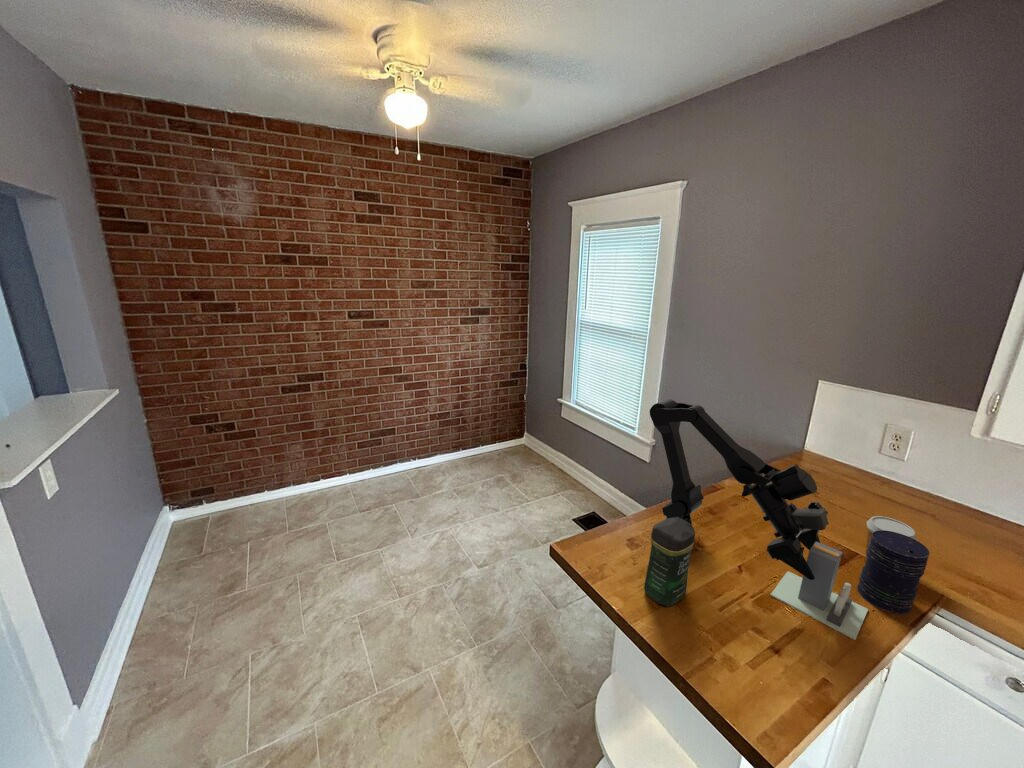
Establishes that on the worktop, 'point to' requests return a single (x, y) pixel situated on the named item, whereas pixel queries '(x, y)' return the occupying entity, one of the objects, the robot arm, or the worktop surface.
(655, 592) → the coffee jar
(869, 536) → the disposable coffee cup
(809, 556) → the plug block
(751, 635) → the worktop surface
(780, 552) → the robot arm
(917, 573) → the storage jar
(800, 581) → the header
